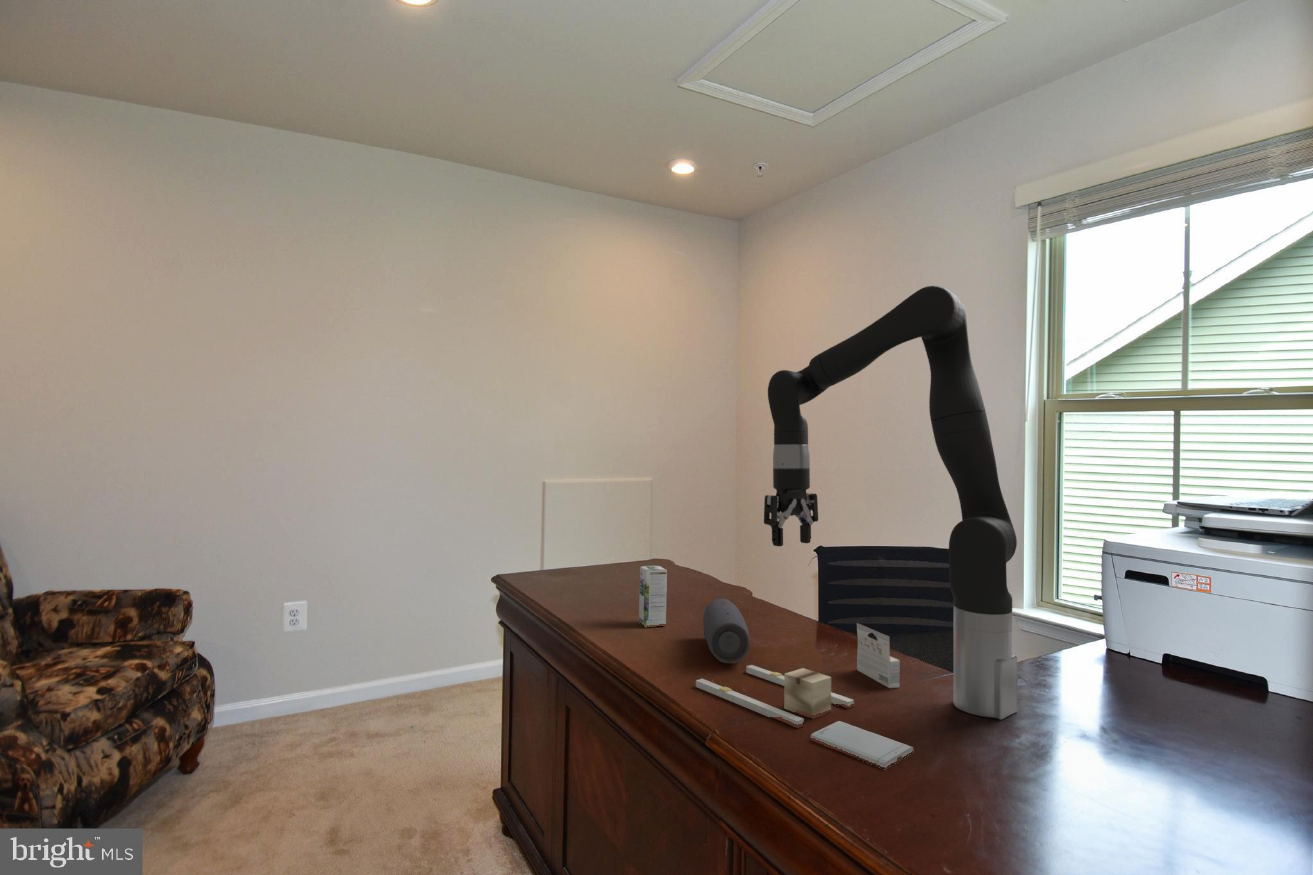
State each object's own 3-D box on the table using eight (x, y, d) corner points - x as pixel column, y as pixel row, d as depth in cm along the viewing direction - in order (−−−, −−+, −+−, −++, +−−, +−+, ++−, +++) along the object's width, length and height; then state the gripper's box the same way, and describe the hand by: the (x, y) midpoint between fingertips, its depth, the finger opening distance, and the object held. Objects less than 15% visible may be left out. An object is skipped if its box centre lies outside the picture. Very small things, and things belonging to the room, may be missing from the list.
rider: (831, 712, 115) (831, 676, 115) (812, 719, 112) (812, 682, 112) (803, 702, 120) (803, 667, 120) (784, 708, 116) (784, 673, 117)
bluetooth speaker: (752, 670, 137) (753, 620, 137) (706, 669, 137) (707, 619, 137) (741, 638, 159) (741, 596, 160) (701, 638, 160) (701, 595, 160)
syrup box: (638, 622, 173) (638, 565, 173) (660, 621, 175) (660, 565, 175) (644, 628, 168) (645, 569, 168) (667, 626, 169) (667, 568, 170)
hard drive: (810, 733, 104) (885, 761, 94) (839, 719, 109) (913, 744, 100) (810, 744, 104) (885, 773, 94) (839, 730, 109) (913, 756, 100)
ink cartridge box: (866, 669, 138) (866, 621, 138) (900, 688, 127) (900, 635, 128) (855, 670, 137) (856, 622, 138) (889, 689, 127) (889, 636, 127)
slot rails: (853, 706, 117) (853, 698, 117) (797, 728, 108) (797, 719, 108) (751, 670, 136) (751, 663, 136) (695, 686, 127) (695, 679, 127)
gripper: (781, 467, 134) (782, 549, 134) (827, 466, 143) (828, 543, 142) (754, 466, 140) (754, 545, 139) (799, 466, 149) (800, 540, 148)
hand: (791, 544), depth 141 cm, fingers open, 8 cm apart
